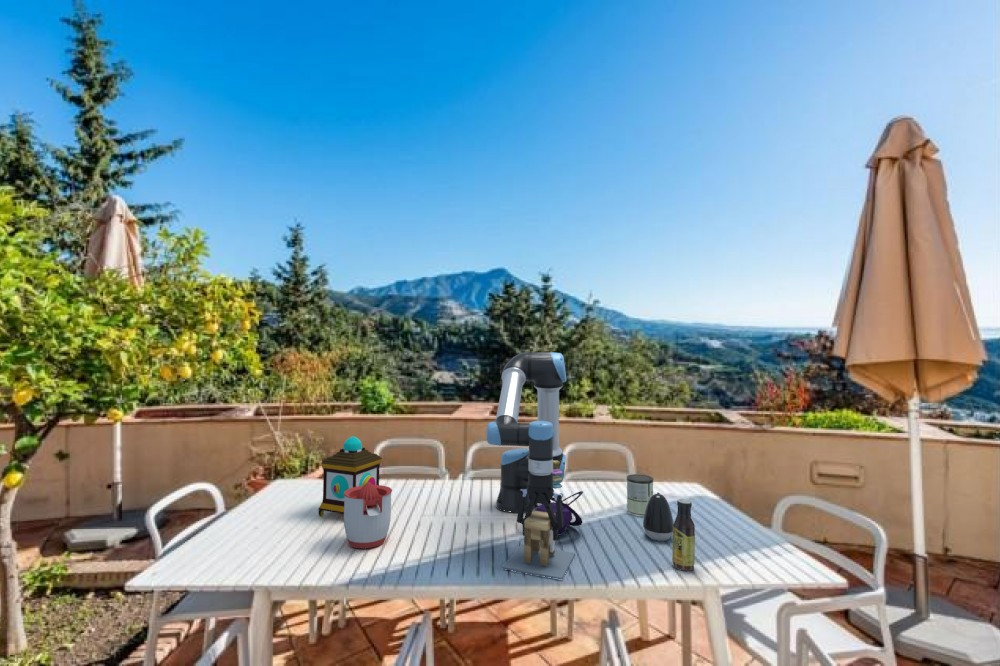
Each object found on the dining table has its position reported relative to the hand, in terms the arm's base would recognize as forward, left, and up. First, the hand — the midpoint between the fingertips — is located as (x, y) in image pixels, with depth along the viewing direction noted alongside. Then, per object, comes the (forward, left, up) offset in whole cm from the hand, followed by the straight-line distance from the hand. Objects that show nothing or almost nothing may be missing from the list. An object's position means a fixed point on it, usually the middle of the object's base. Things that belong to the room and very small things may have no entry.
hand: (540, 548), depth 144 cm
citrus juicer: (-57, -8, -4) cm, 58 cm away
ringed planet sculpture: (-2, +26, -4) cm, 26 cm away
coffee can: (+25, +59, -4) cm, 64 cm away
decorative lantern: (-81, +14, -4) cm, 82 cm away
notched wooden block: (0, 0, -3) cm, 3 cm away
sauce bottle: (+41, +13, -4) cm, 43 cm away
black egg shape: (+33, +34, -4) cm, 48 cm away
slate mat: (0, 0, -4) cm, 4 cm away
